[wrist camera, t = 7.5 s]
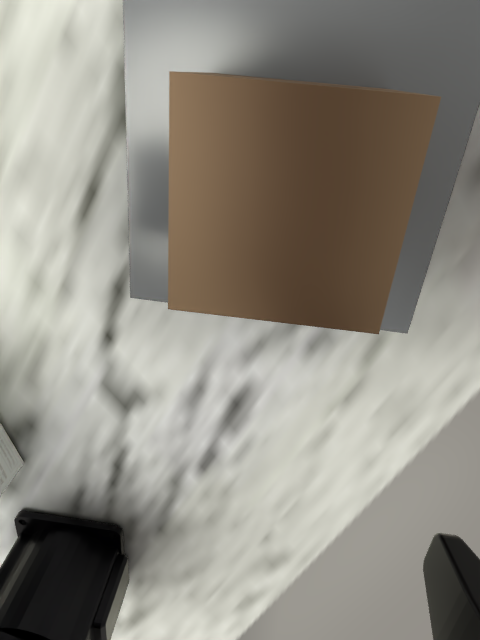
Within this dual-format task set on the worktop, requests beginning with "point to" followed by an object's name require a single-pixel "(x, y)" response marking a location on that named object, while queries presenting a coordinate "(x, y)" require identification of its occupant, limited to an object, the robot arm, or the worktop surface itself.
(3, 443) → the supplement box
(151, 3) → the slate slab
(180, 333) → the worktop surface
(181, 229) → the walnut cube
